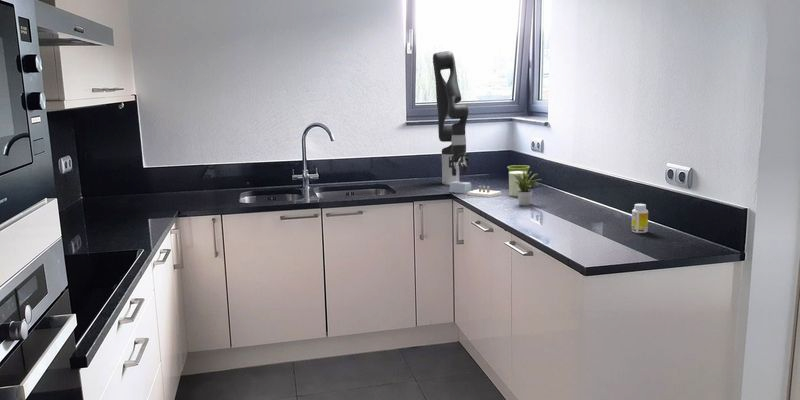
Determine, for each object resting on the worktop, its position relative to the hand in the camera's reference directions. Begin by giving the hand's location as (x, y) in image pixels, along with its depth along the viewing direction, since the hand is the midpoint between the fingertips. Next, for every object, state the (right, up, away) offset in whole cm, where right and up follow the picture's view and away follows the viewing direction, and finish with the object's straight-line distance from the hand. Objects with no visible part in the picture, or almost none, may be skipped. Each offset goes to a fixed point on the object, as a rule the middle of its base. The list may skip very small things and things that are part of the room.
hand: (459, 174), depth 330 cm
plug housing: (+1, -9, +2) cm, 9 cm away
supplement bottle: (+58, -25, -97) cm, 115 cm away
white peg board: (+12, -10, -8) cm, 18 cm away
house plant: (+26, -16, -38) cm, 49 cm away
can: (+28, -11, -12) cm, 33 cm away
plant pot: (+33, -7, +10) cm, 35 cm away
